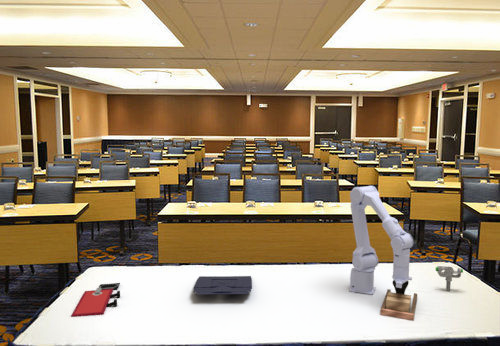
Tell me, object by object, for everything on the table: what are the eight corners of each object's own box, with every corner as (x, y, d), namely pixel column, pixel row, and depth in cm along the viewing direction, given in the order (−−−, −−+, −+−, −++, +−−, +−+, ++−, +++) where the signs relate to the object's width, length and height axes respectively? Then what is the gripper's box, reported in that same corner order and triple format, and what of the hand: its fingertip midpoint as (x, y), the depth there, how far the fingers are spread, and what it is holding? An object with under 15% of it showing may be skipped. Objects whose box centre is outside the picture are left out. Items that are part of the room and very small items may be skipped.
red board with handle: (124, 284, 185) (89, 287, 183) (124, 278, 185) (88, 281, 183) (114, 315, 156) (71, 319, 154) (113, 308, 156) (70, 311, 153)
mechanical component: (462, 292, 174) (463, 269, 173) (435, 291, 176) (436, 267, 175) (460, 290, 177) (461, 267, 176) (434, 288, 179) (435, 265, 178)
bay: (380, 314, 155) (380, 309, 154) (387, 293, 174) (387, 289, 173) (413, 320, 150) (413, 315, 150) (417, 298, 169) (417, 293, 169)
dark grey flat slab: (190, 301, 164) (190, 292, 164) (198, 282, 194) (198, 274, 194) (252, 300, 164) (252, 291, 164) (251, 281, 194) (251, 274, 194)
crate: (385, 312, 156) (386, 298, 155) (388, 304, 163) (388, 290, 162) (408, 316, 152) (409, 302, 152) (410, 308, 160) (411, 294, 159)
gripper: (411, 272, 152) (409, 308, 154) (413, 261, 165) (412, 294, 167) (390, 270, 155) (389, 305, 157) (394, 258, 168) (393, 291, 170)
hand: (399, 299), depth 162 cm, fingers closed
